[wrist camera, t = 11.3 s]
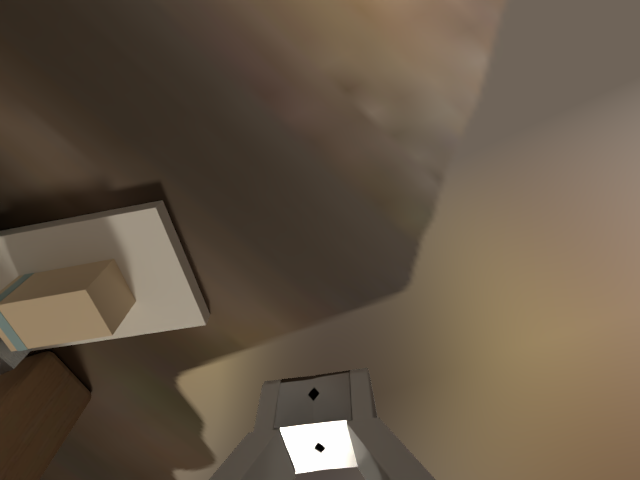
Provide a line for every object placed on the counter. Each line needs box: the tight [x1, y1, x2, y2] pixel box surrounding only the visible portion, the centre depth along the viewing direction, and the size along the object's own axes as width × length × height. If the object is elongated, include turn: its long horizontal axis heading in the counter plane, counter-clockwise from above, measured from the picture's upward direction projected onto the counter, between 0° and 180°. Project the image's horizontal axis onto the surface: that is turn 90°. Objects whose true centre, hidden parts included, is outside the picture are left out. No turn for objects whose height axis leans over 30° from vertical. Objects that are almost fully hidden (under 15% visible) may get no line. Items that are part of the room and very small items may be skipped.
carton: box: [0, 259, 136, 352], centre depth 44 cm, size 6×6×12 cm
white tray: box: [0, 200, 210, 351], centre depth 48 cm, size 16×28×2 cm, turn 101°
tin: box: [0, 337, 33, 375], centre depth 48 cm, size 4×4×5 cm
